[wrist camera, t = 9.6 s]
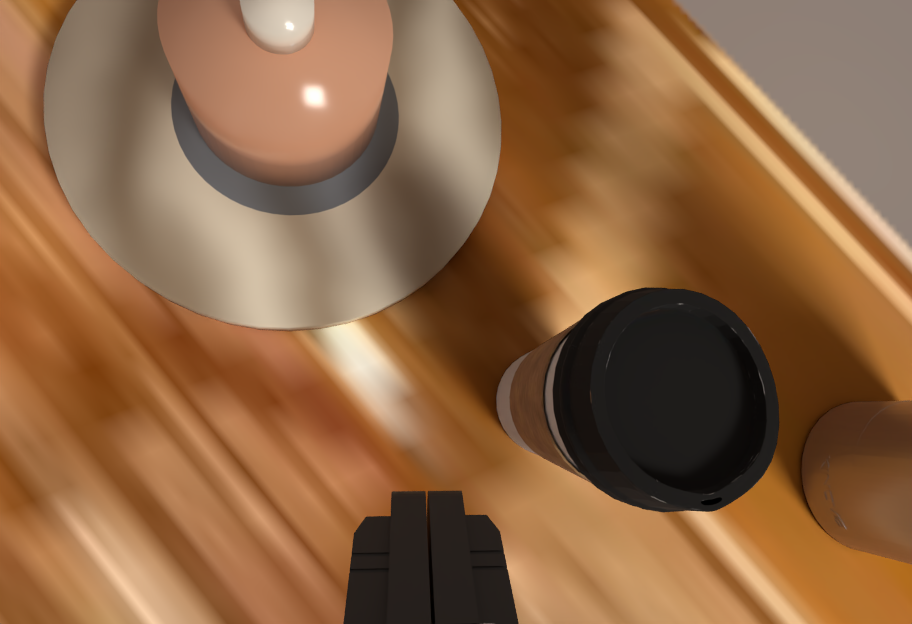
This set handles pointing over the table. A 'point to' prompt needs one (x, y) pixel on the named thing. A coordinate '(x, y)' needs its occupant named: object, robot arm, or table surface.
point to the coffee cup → (649, 401)
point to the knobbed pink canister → (281, 80)
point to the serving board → (263, 205)
